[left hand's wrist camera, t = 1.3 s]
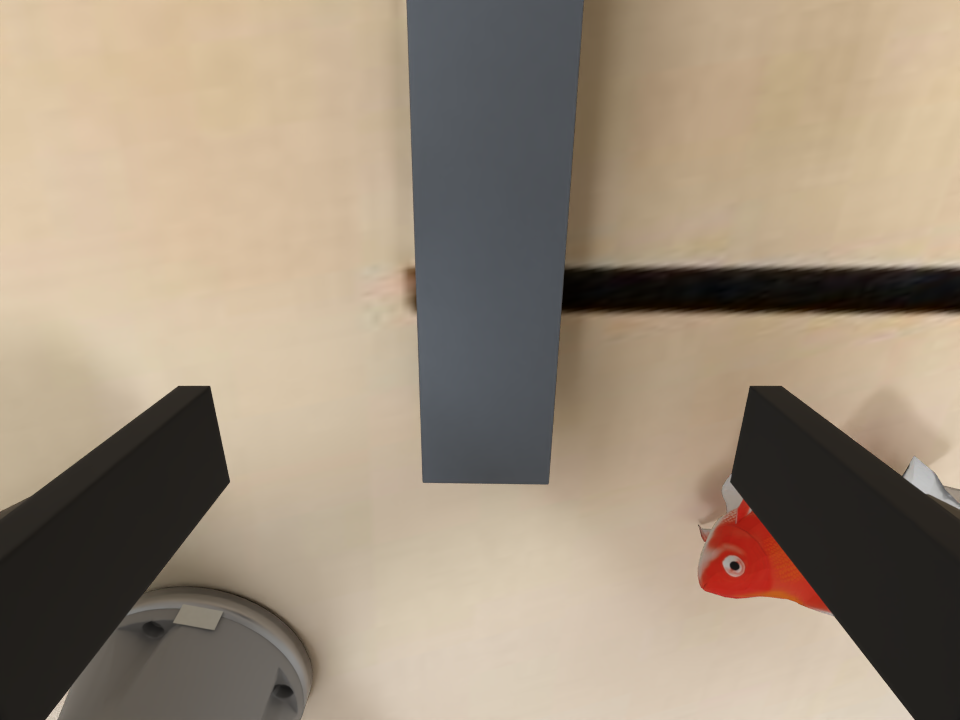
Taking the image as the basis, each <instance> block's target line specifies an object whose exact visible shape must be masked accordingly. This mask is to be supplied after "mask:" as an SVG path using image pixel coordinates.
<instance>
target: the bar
mask: <svg viewBox="0 0 960 720" xmlns="http://www.w3.org/2000/svg"><path fill="white" fill-rule="evenodd" d="M583 7H584V0H407V28H408V58H409V88H410V118H411V148H412V178H413V208H414V238H415V268H416V298H417V328H418V358H419V388H420V418H421V448H422V478H423V483H481V484H549V473H550V459H551V445H552V432H553V418H554V404H555V391H556V377H557V363H558V350H559V336H560V322H561V308H562V295H563V281H564V267H565V254H566V240H567V226H568V212H569V199H570V185H571V171H572V158H573V144H574V130H575V117H576V103H577V89H578V75H579V62H580V48H581V34H582V21H583Z"/></svg>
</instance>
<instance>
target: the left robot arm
mask: <svg viewBox="0 0 960 720" xmlns="http://www.w3.org/2000/svg"><path fill="white" fill-rule="evenodd" d="M229 483H230V479H229V475H228V470H227V465H226V460H225V455H224V451H223V446H222V441H221V436H220V431H219V426H218V422H217V417H216V412H215V407H214V402H213V398H212V393H211V388H210V386H178V387H177V388H175V389H174V390H173V391H171V392H170V393H169V394H167V395H166V396H165V397H163V398H162V399H161V400H159V401H158V402H157V403H155V404H154V405H153V406H151V407H150V408H149V409H147V410H146V411H145V412H143V413H142V414H141V415H139V416H138V417H137V418H135V419H134V420H132V421H131V422H130V423H128V424H127V425H126V426H124V427H123V428H122V429H120V430H119V431H118V432H116V433H115V434H114V435H112V436H111V437H110V438H108V439H107V440H106V441H104V442H103V443H102V444H100V445H99V446H98V447H96V448H95V449H94V450H92V451H91V452H90V453H88V454H87V455H86V456H84V457H83V458H82V459H80V460H79V461H78V462H76V463H75V464H74V465H72V466H71V467H70V468H68V469H67V470H66V471H64V472H63V473H62V474H60V475H59V476H58V477H56V478H55V479H54V480H52V481H51V482H50V483H48V484H47V485H46V486H44V487H43V488H42V489H40V490H39V491H38V492H36V493H35V494H34V495H32V496H31V497H29V498H27V499H25V500H23V501H21V502H19V503H17V504H15V505H13V506H11V507H9V508H7V509H5V510H3V511H1V512H0V720H45V719H46V718H47V717H48V716H49V714H50V713H51V712H52V710H53V709H54V708H55V707H56V705H57V704H58V703H59V701H60V700H61V699H62V698H63V696H64V695H65V694H66V692H67V691H68V690H69V689H70V690H69V693H68V695H67V698H66V700H65V703H64V705H63V708H62V710H61V713H60V715H59V718H58V720H301V717H302V715H303V712H304V708H305V705H306V702H307V699H308V696H309V693H310V689H311V686H312V668H311V663H310V660H309V656H308V654H307V652H306V650H305V648H304V646H303V644H302V643H301V641H300V640H299V639H298V637H297V636H296V635H295V633H294V632H293V631H292V630H291V629H290V628H289V627H288V626H287V625H286V624H285V623H284V622H283V621H281V620H280V619H279V618H278V617H276V616H275V615H274V614H272V613H271V612H269V611H268V610H266V609H264V608H263V607H261V606H259V605H257V604H255V603H253V602H251V601H249V600H247V599H244V598H241V597H239V596H236V595H233V594H230V593H226V592H222V591H218V590H214V589H207V588H199V587H170V588H163V589H158V590H154V591H149V592H147V593H144V592H145V591H146V589H147V588H148V587H149V586H150V584H151V583H152V582H153V580H154V579H155V578H156V577H157V575H158V574H159V573H160V571H161V570H162V569H163V568H164V566H165V565H166V564H167V562H168V561H169V560H170V559H171V557H172V556H173V555H174V553H175V552H176V551H177V550H178V548H179V547H180V546H181V544H182V543H183V542H184V541H185V539H186V538H187V537H188V535H189V534H190V533H191V532H192V530H193V529H194V528H195V526H196V525H197V524H198V523H199V521H200V520H201V519H202V517H203V516H204V515H205V514H206V512H207V511H208V510H209V508H210V507H211V506H212V505H213V503H214V502H215V501H216V499H217V498H218V497H219V496H220V494H221V493H222V492H223V490H224V489H225V488H226V487H227V485H228V484H229ZM730 483H731V484H732V485H733V487H734V488H735V489H736V490H737V492H738V493H739V494H740V496H741V497H742V498H743V499H744V501H745V502H746V503H747V505H748V506H749V507H750V508H751V510H752V511H753V512H754V514H755V515H756V516H757V517H758V519H759V520H760V521H761V523H762V524H763V525H764V526H765V528H766V529H767V530H768V532H769V533H770V534H771V535H772V537H773V538H774V539H775V541H776V542H777V543H778V544H779V546H780V547H781V548H782V550H783V551H784V552H785V553H786V555H787V556H788V557H789V559H790V560H791V561H792V562H793V564H794V565H795V566H796V568H797V569H798V570H799V571H800V573H801V574H802V575H803V577H804V578H805V579H806V580H807V582H808V583H809V584H810V586H811V587H812V588H813V589H814V591H815V592H816V593H817V595H818V596H819V597H820V599H821V600H822V601H823V602H824V604H825V605H826V606H827V608H828V609H829V610H830V611H831V613H832V614H833V615H834V617H835V618H836V619H837V620H838V622H839V623H840V624H841V626H842V627H843V628H844V629H845V631H846V632H847V633H848V635H849V636H850V637H851V638H852V640H853V641H854V642H855V644H856V645H857V646H858V647H859V649H860V650H861V651H862V653H863V654H864V655H865V656H866V658H867V659H868V660H869V662H870V663H871V664H872V665H873V667H874V668H875V669H876V671H877V672H878V673H879V674H880V676H881V677H882V678H883V680H884V681H885V682H886V683H887V685H888V686H889V687H890V689H891V690H892V691H893V692H894V694H895V695H896V696H897V698H898V699H899V700H900V701H901V703H902V704H903V705H904V707H905V708H906V709H907V710H908V712H909V713H910V714H911V716H912V717H913V718H914V719H915V720H960V509H958V508H956V507H954V506H952V505H950V504H948V503H946V502H944V501H942V500H940V499H938V498H936V497H934V496H932V495H930V494H925V493H924V492H922V491H921V490H920V489H918V488H917V487H916V486H914V485H913V484H912V483H910V482H909V481H908V480H906V479H905V478H904V477H902V476H901V475H900V474H898V473H897V472H896V471H894V470H893V469H892V468H890V467H889V466H888V465H886V464H885V463H884V462H882V461H881V460H880V459H878V458H877V457H876V456H874V455H873V454H872V453H870V452H869V451H868V450H866V449H865V448H864V447H862V446H861V445H860V444H858V443H857V442H856V441H854V440H853V439H852V438H850V437H849V436H848V435H846V434H845V433H844V432H842V431H841V430H840V429H838V428H837V427H836V426H834V425H833V424H832V423H830V422H829V421H828V420H826V419H825V418H823V417H822V416H821V415H819V414H818V413H817V412H815V411H814V410H813V409H811V408H810V407H809V406H807V405H806V404H805V403H803V402H802V401H801V400H799V399H798V398H797V397H795V396H794V395H793V394H791V393H790V392H789V391H787V390H786V389H785V388H783V387H782V386H750V388H749V393H748V398H747V402H746V407H745V412H744V417H743V422H742V426H741V431H740V436H739V441H738V446H737V451H736V455H735V460H734V465H733V470H732V475H731V479H730ZM143 593H144V594H143ZM70 687H71V688H70Z"/></svg>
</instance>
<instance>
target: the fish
mask: <svg viewBox="0 0 960 720" xmlns="http://www.w3.org/2000/svg"><path fill="white" fill-rule="evenodd" d="M731 475H732V473H731V474H730V475H729V477H728V478H727V480H726V482H725V483H724V485H723V487H722V495H723V498H724V500H725V502H726V506H727V513H726V514H724V515H723V516H722V517H720V518H719V519H718V520H717V522H716V523H715V525H714V526H713V528H712V529H701V528H700V526H699V525H698V526H699V528H700V532H701V537H702V539H703V541H704V542H705V545H704V547H703V550H702V553H701V556H700V560H699V565H698V579H699V583H700V586H701V588H702V589H703V590H705V591H707V592H710V593H714V594H717V595H720V596H723V597H729V598H736V599H737V598H749V597H758V596H763V597H774V598H781V599H789V600H792V601H795V602H797V603H798V604H800V605H803V606H805V607H808V608H810V609H813V610H816V611H819V612H822V613H825V614H829V615H832V616H834V615H833V614H832V613H831V611H830V610H829V609H828V608H827V606H826V605H825V604H824V602H823V601H822V600H821V599H820V597H819V596H818V595H817V593H816V592H815V591H814V589H813V588H812V587H811V586H810V584H809V583H808V582H807V580H806V579H805V578H804V577H803V575H802V574H801V573H800V571H799V570H798V569H797V568H796V566H795V565H794V564H793V562H792V561H791V560H790V559H789V557H788V556H787V555H786V553H785V552H784V551H783V550H782V548H781V547H780V546H779V544H778V543H777V542H776V541H775V539H774V538H773V537H772V535H771V534H770V533H769V532H768V530H767V529H766V528H765V526H764V525H763V524H762V523H761V521H760V520H759V519H758V517H757V516H756V515H755V514H754V512H753V511H752V510H751V508H750V507H749V506H748V505H747V503H746V502H745V501H744V499H743V498H742V497H741V496H740V494H739V493H738V492H737V490H736V489H735V488H734V487H733V485H732V484H731V483H730V479H731ZM902 477H904V478H905V479H906V480H908V481H909V482H910V483H912V484H913V485H914V486H916V487H917V488H918V489H920V490H921V491H922V492H924V493H925V494H930V495H932V496H934V497H936V498H938V499H940V500H942V501H944V502H946V503H948V504H950V505H952V506H954V507H956V508H958V509H960V489H955V488H951V487H947V486H943V485H942V483H941V482H940V480H939V479H938V477H937V475H936V474H935V473H934V472H933V471H932V470H931V469H930V468H928V467H927V466H926V465H925V464H924V463H922V462H921V461H920V460H919V459H918V458H916V457H915V456H914V457H913V459H912V460H911V462H910V464H909V466H908V468H907V469H906V471H905V473H904V474H903V476H902Z"/></svg>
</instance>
